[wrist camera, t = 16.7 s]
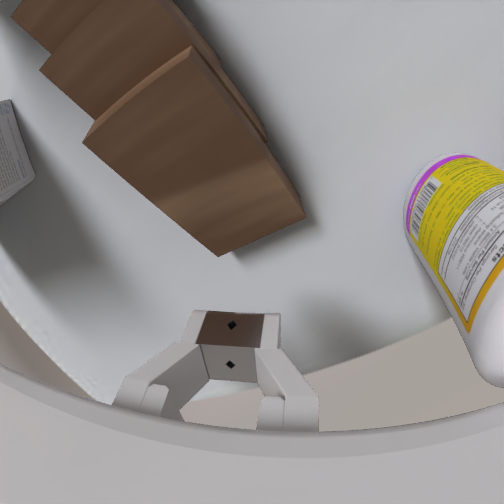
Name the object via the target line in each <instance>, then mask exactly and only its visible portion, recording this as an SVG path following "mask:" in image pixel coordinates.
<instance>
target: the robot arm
mask: <svg viewBox="0 0 504 504" xmlns="http://www.w3.org/2000/svg"><path fill="white" fill-rule="evenodd" d="M280 343H281V315H280V313H235V312H220V311H203V310H194V311H193V312H192V313H191V316H190V318H189V320H188V323H187V325H186V328H185V330H184V333H183V335H182V338H181V340H180V343H179V342H175V343H174V344H172V345H171V346H170V347H168V348H167V349H165V350H164V351H162V352H161V353H159V354H158V355H157V356H155V357H154V358H152V359H151V360H149V361H148V362H147V363H145V364H144V365H142V366H141V367H139V368H138V369H136V370H135V371H133V372H132V373H130V374H129V375H128V376H126V377H125V379H124V381H123V383H122V385H121V387H120V389H119V391H118V393H117V395H116V397H115V399H114V402H113V404H112V405H109V404H105V403H102V402H98V401H95V400H92V399H88V398H85V397H82V396H79V395H76V394H73V393H70V392H68V391H64V390H62V389H59V388H56V387H54V386H51V385H49V384H46V383H43V382H41V381H38V380H36V379H34V378H31V377H29V376H26V375H24V374H22V373H20V372H18V371H15V370H13V369H11V368H8V367H7V366H5V365H3V364H1V363H0V504H504V403H500V404H497V405H494V406H490V407H487V408H483V409H480V410H476V411H472V412H469V413H464V414H460V415H456V416H451V417H447V418H442V419H437V420H432V421H426V422H420V423H414V424H408V425H402V426H393V427H384V428H375V429H363V430H349V431H325V432H319V398H318V395H317V394H316V393H315V392H314V391H313V389H312V388H311V386H310V385H309V384H308V382H307V381H306V380H305V379H304V377H303V376H302V375H301V373H300V372H299V371H298V369H297V368H296V367H295V366H294V364H293V363H292V362H291V360H290V359H289V358H288V356H287V355H286V354H285V352H284V351H283V350H282V349H280ZM209 379H214V380H229V381H241V382H252V383H258V385H259V387H260V389H261V391H262V392H263V394H264V396H265V397H264V398H263V399H261V402H260V409H259V415H258V421H257V428H256V430H249V429H238V428H228V427H219V426H211V425H204V424H197V423H190V422H185V421H184V420H183V418H182V416H181V414H180V412H179V410H180V409H181V408H182V407H183V406H184V405H185V404H186V403H187V402H188V401H189V400H190V399H191V398H192V397H193V396H194V395H195V394H196V393H197V392H198V391H199V390H200V389H201V388H202V387H203V386H204V385H205V384H206V383H207V382H208V381H209Z"/></svg>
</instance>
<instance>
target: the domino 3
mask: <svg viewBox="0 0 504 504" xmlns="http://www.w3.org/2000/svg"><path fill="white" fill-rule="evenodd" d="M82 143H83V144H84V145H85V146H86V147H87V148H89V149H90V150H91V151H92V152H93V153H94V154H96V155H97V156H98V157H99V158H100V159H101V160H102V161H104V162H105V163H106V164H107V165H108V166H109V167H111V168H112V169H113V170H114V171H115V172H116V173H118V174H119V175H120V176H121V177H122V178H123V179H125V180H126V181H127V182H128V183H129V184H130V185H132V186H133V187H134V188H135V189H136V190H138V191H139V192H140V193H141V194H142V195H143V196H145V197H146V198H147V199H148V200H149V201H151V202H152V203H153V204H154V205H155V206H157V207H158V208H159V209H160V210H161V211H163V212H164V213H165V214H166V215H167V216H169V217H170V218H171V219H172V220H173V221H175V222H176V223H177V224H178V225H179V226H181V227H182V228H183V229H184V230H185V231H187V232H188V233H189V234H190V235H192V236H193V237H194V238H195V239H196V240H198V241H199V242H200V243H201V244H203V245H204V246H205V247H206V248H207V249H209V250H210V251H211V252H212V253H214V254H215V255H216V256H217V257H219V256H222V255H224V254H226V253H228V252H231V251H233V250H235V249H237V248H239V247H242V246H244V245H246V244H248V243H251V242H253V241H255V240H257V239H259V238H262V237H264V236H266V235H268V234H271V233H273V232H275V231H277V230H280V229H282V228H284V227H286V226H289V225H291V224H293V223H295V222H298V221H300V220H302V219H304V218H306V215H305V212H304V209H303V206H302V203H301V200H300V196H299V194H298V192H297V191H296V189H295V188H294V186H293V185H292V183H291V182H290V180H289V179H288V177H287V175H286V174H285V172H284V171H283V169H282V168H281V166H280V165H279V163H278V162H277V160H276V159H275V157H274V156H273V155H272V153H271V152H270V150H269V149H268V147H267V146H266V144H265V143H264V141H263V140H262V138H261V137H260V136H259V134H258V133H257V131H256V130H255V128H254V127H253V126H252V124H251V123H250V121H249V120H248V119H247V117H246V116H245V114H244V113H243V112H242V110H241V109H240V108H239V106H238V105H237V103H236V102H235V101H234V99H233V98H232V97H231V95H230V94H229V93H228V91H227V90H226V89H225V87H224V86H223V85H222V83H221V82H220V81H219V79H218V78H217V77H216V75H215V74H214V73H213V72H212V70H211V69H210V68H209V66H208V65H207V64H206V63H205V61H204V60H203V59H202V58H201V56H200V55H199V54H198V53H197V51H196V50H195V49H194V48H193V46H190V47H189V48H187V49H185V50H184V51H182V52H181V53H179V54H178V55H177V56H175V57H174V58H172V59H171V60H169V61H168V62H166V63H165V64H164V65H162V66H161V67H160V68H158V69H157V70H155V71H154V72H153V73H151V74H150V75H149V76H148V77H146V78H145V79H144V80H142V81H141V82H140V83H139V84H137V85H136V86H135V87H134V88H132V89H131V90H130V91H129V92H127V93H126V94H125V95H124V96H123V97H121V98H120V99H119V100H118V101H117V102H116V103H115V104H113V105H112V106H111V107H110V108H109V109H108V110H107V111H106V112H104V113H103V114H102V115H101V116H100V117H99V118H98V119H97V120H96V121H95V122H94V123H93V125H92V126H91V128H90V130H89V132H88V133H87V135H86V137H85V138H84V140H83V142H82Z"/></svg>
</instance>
